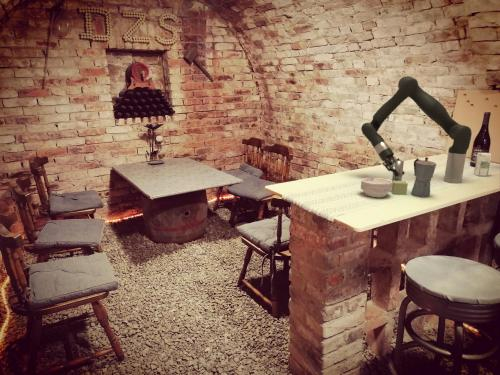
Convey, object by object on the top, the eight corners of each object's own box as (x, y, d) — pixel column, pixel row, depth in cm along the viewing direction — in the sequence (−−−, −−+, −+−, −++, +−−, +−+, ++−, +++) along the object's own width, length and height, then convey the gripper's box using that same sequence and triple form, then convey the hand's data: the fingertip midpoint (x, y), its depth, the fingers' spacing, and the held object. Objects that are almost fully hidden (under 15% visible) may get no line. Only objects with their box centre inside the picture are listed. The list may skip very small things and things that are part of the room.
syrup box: (482, 174, 229) (486, 152, 225) (487, 176, 223) (492, 154, 220) (473, 174, 230) (477, 152, 226) (478, 176, 224) (482, 153, 220)
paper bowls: (366, 189, 193) (368, 175, 191) (395, 194, 184) (396, 179, 182) (355, 195, 182) (356, 180, 179) (384, 201, 172) (386, 185, 170)
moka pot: (422, 199, 175) (428, 160, 170) (401, 191, 189) (406, 154, 184) (438, 198, 178) (444, 159, 172) (416, 190, 192) (421, 153, 186)
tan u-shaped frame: (382, 185, 200) (383, 175, 198) (401, 186, 199) (402, 176, 197) (389, 194, 184) (390, 182, 183) (409, 195, 183) (410, 183, 181)
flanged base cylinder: (389, 183, 206) (392, 159, 202) (400, 183, 205) (403, 160, 201) (391, 186, 200) (394, 161, 196) (403, 186, 199) (406, 162, 195)
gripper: (381, 148, 198) (398, 173, 192) (395, 146, 207) (412, 169, 200) (372, 156, 204) (388, 180, 198) (386, 153, 212) (402, 177, 206)
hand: (400, 175), depth 199 cm, fingers closed on flanged base cylinder, 5 cm apart
